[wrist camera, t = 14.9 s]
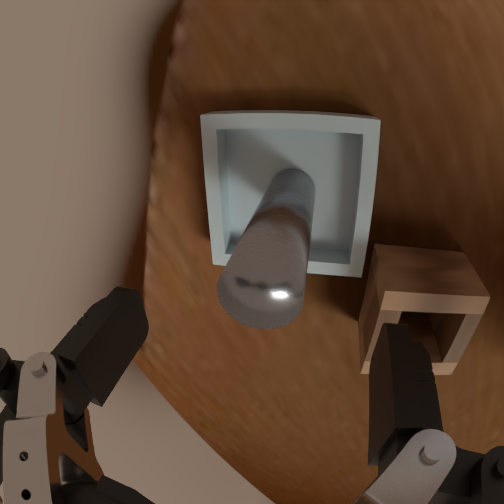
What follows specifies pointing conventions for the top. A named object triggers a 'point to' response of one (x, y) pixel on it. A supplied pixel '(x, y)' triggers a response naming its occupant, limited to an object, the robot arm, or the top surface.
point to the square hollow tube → (422, 302)
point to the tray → (299, 157)
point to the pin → (272, 255)
